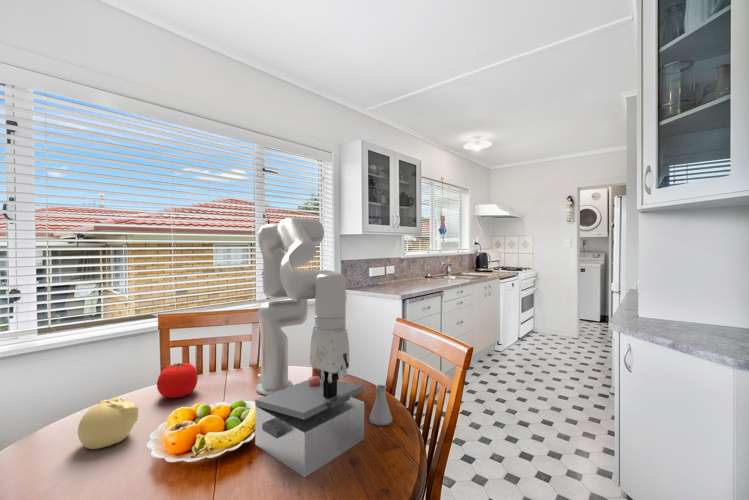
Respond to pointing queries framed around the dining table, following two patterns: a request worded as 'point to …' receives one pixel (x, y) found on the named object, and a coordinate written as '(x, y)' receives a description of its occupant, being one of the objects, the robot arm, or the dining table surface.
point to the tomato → (177, 380)
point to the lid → (307, 398)
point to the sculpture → (107, 423)
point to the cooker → (310, 435)
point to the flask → (380, 408)
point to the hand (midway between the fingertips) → (330, 396)
